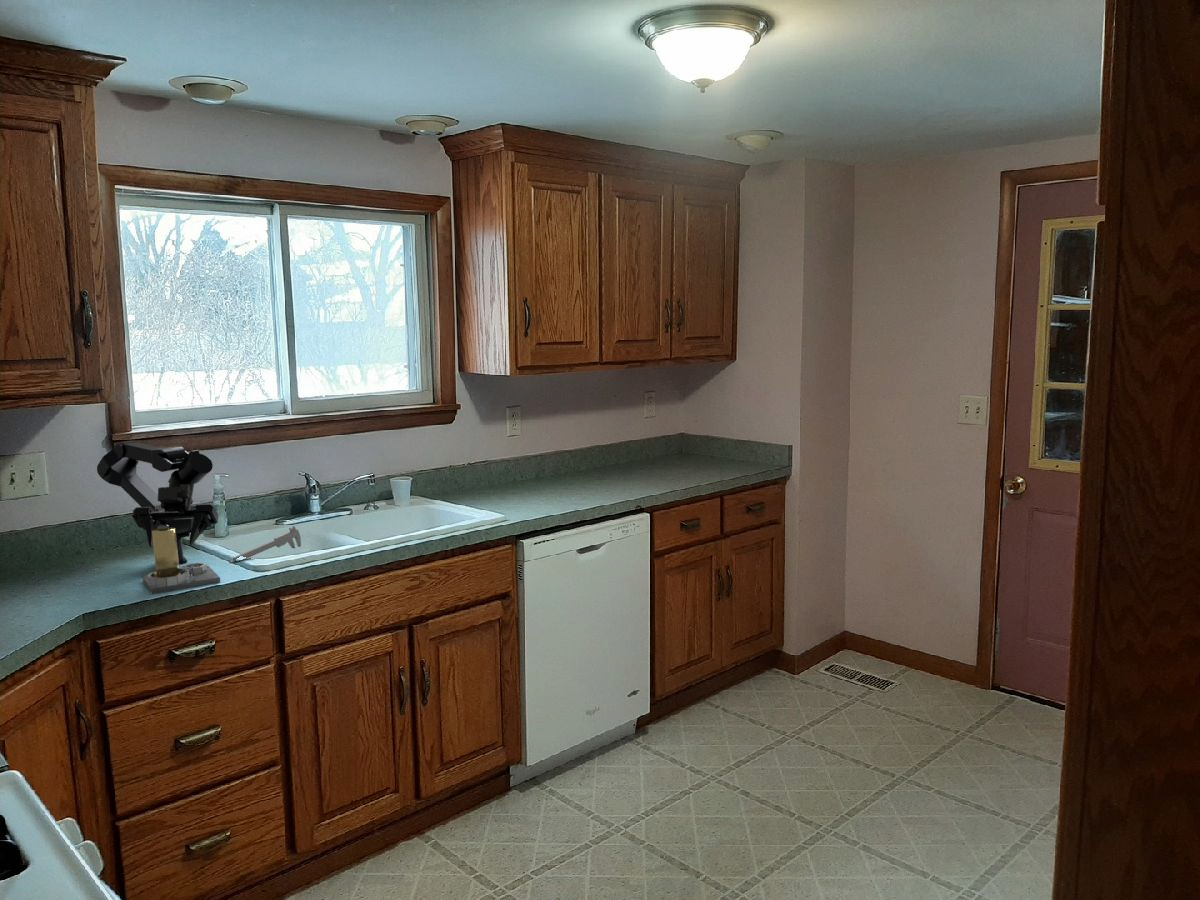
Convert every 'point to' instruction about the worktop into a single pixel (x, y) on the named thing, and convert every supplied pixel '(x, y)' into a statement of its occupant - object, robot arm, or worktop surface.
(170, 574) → the brass cylinder
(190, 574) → the plate
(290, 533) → the caliper
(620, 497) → the worktop surface
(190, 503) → the robot arm
